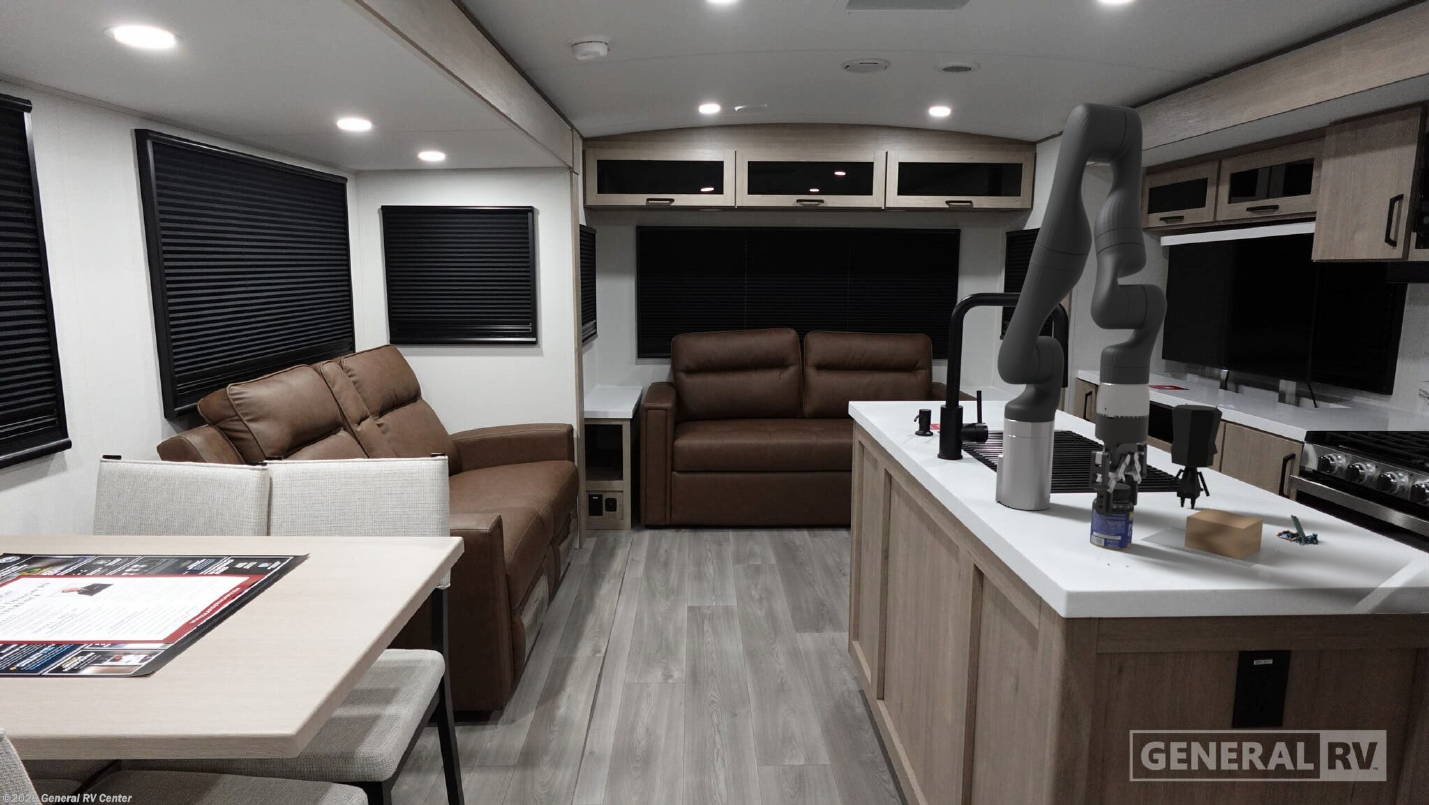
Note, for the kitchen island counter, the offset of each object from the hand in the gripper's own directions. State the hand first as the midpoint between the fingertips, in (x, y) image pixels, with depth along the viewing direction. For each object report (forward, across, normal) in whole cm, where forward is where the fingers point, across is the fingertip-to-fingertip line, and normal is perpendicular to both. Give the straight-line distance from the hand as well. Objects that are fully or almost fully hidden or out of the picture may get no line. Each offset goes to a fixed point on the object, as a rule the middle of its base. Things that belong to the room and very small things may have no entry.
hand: (1116, 509), depth 128 cm
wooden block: (+6, -12, +12) cm, 17 cm away
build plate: (+7, -12, +10) cm, 17 cm away
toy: (+7, -36, -3) cm, 37 cm away
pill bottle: (+7, 0, -1) cm, 7 cm away
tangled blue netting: (+8, -26, +17) cm, 33 cm away
